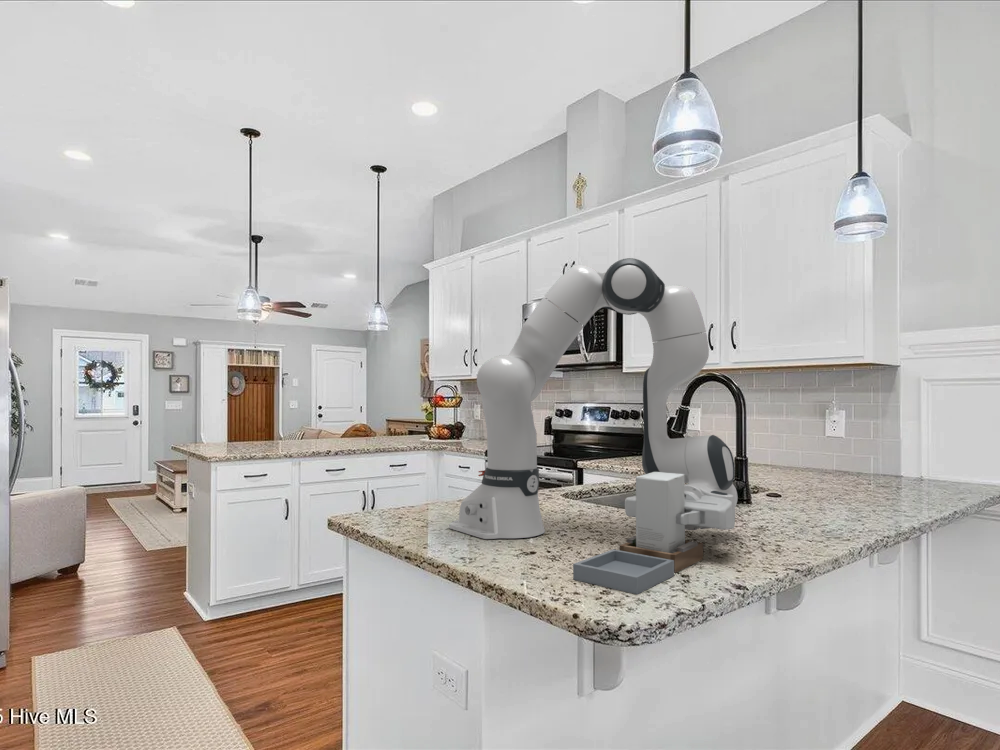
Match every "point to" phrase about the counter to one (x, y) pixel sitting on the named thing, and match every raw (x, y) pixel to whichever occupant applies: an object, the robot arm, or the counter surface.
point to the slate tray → (624, 571)
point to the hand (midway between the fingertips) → (658, 516)
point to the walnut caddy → (682, 558)
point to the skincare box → (659, 511)
